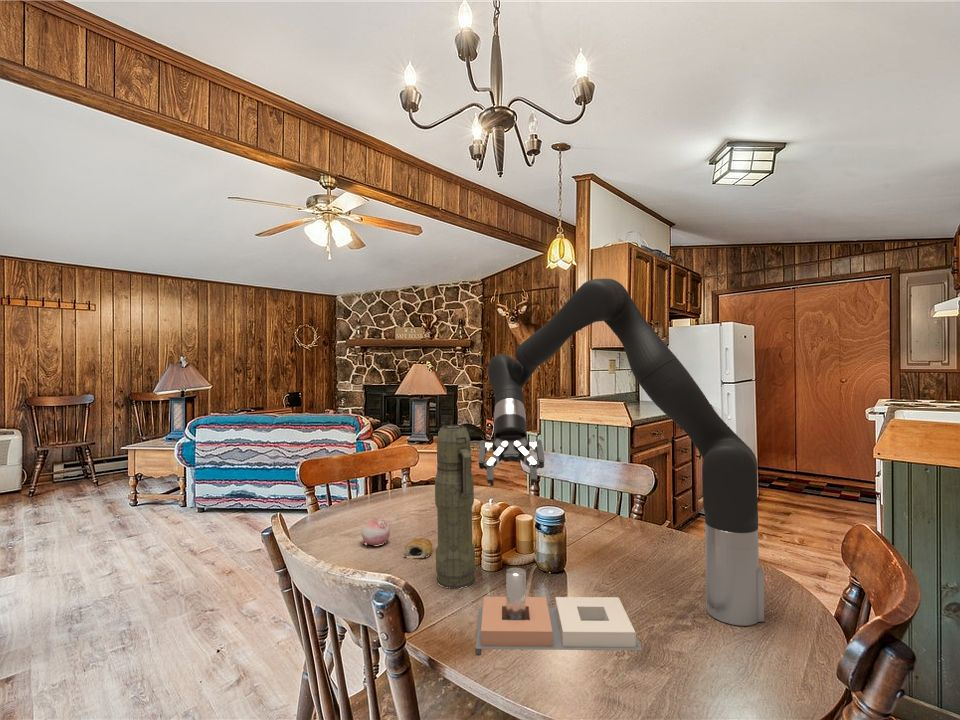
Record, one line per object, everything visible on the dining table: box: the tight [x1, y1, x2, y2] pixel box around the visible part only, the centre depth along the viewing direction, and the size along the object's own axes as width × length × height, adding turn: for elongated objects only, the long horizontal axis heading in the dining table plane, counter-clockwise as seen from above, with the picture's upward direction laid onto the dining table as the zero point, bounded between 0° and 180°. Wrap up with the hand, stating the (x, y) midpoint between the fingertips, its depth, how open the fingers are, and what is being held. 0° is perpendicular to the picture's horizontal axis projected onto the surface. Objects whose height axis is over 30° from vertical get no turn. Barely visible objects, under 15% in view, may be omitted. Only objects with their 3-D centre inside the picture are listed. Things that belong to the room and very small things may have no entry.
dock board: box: [475, 596, 643, 655], centre depth 90 cm, size 28×14×4 cm, turn 87°
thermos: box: [434, 424, 476, 589], centre depth 112 cm, size 9×12×35 cm
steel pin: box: [505, 567, 527, 620], centre depth 91 cm, size 4×4×10 cm
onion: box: [361, 517, 391, 546], centre depth 135 cm, size 8×8×7 cm
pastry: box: [403, 537, 433, 558], centre depth 129 cm, size 9×7×4 cm
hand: (512, 483), depth 104 cm, fingers open, 8 cm apart
